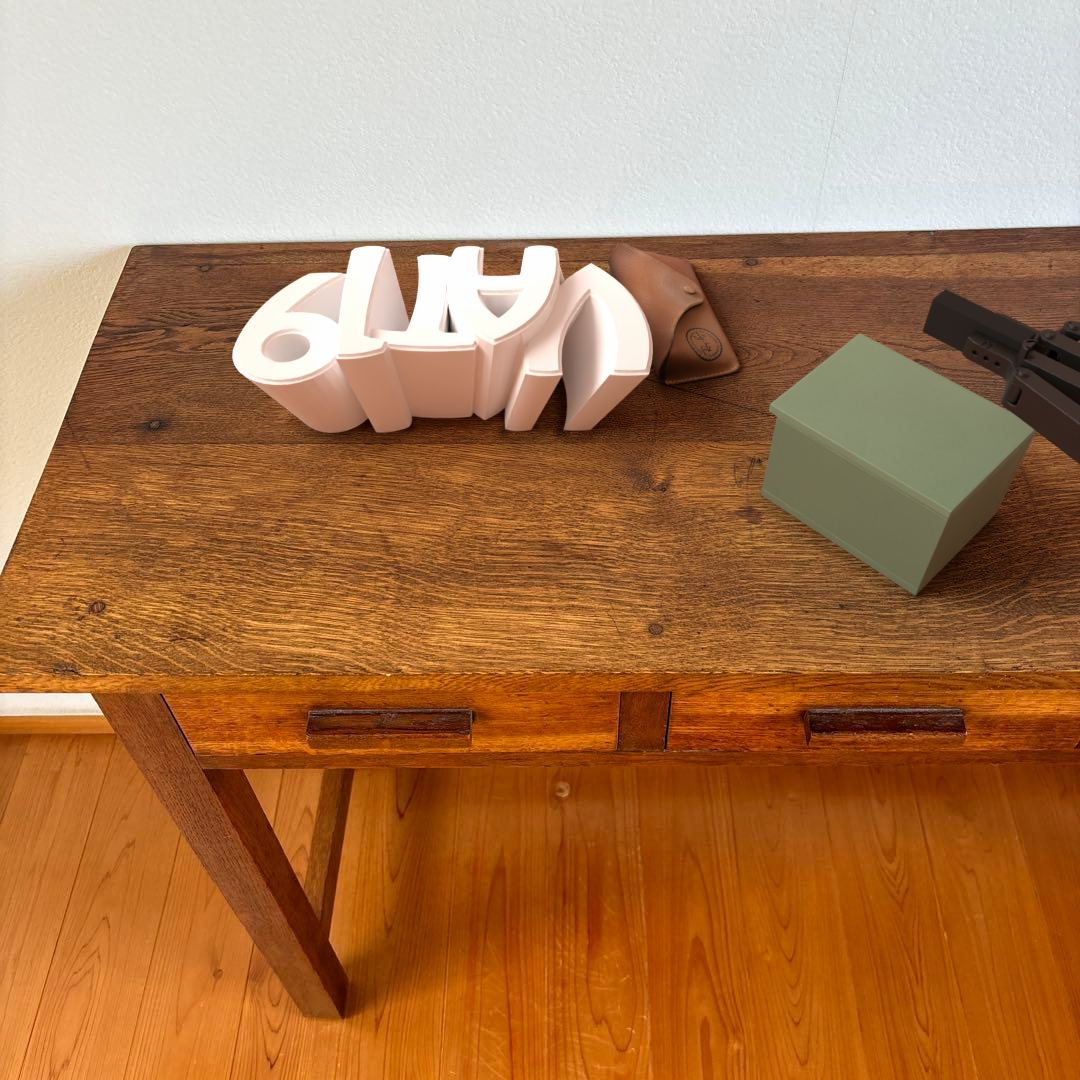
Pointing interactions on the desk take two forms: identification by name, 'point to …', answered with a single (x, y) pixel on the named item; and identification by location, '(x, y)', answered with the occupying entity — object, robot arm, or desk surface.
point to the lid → (904, 423)
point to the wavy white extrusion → (446, 343)
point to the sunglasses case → (674, 316)
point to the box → (874, 508)
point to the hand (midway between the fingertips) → (934, 310)
